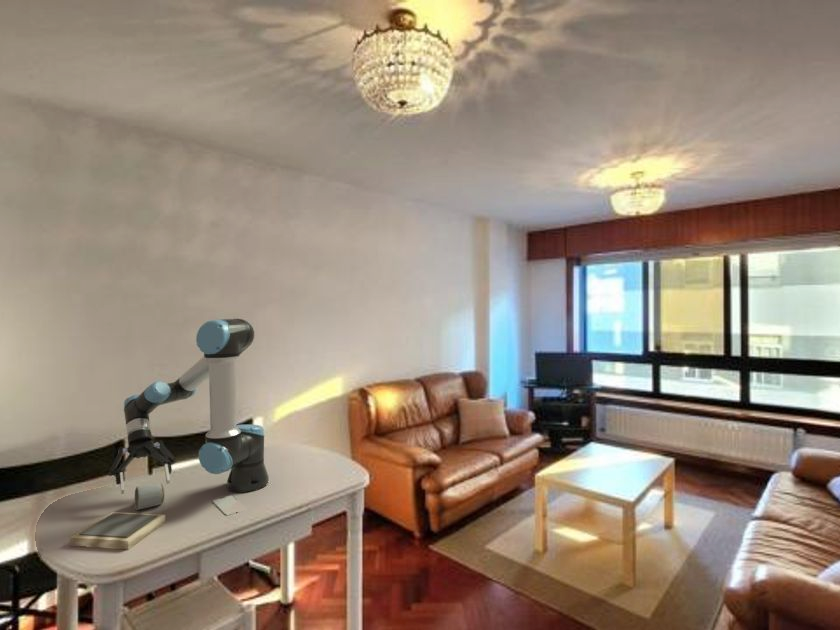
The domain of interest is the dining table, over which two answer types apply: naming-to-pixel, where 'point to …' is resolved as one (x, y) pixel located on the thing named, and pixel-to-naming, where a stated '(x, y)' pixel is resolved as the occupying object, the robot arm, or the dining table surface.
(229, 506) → the smartphone
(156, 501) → the ceramic mug
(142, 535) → the wooden picture frame
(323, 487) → the dining table surface
